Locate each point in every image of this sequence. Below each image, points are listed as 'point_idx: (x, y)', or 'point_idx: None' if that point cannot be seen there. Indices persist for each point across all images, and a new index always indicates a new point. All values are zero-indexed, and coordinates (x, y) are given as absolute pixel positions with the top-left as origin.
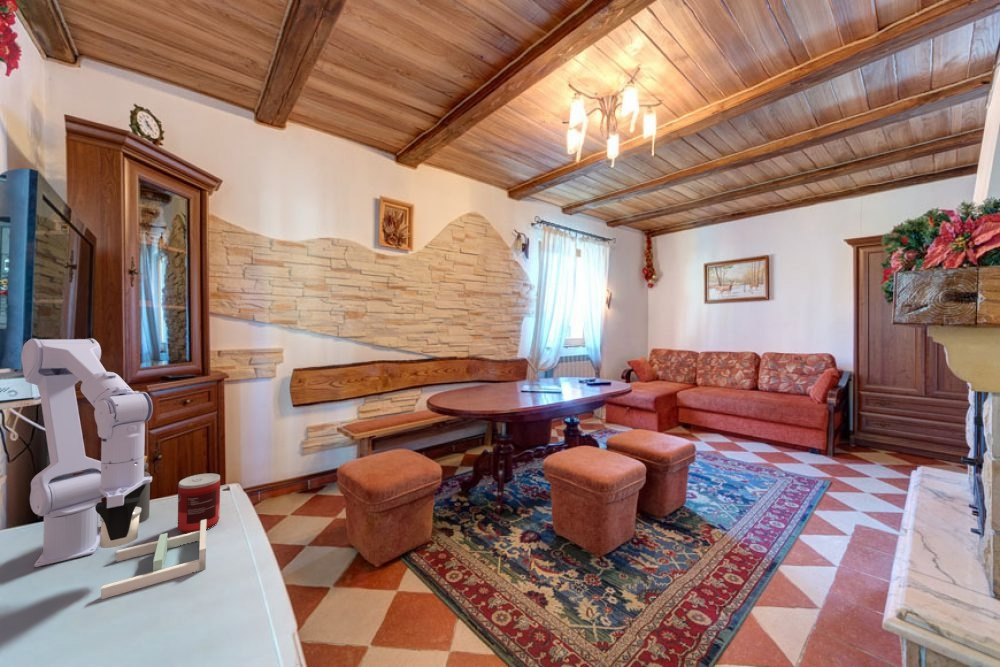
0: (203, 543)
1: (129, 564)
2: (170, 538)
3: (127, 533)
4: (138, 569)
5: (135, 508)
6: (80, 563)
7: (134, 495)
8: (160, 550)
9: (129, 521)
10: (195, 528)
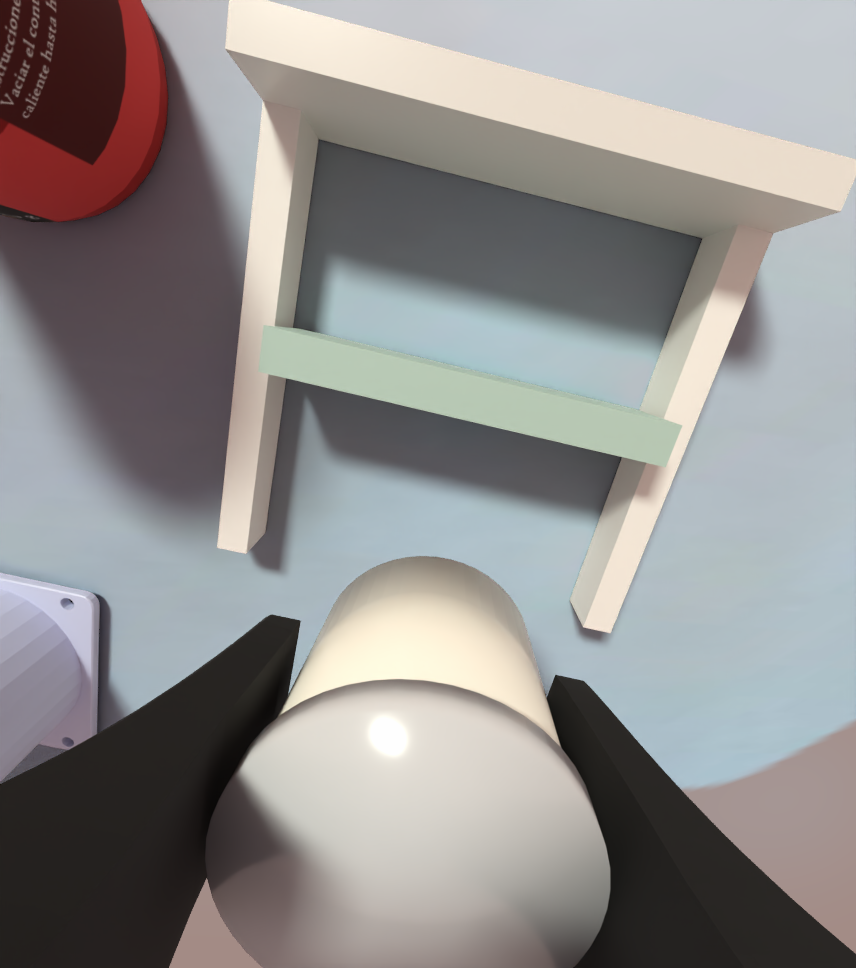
0: (754, 154)
1: (341, 493)
2: (259, 305)
3: (598, 698)
4: (433, 471)
5: (356, 761)
6: (168, 632)
7: (97, 953)
8: (535, 410)
9: (703, 814)
10: (148, 121)
